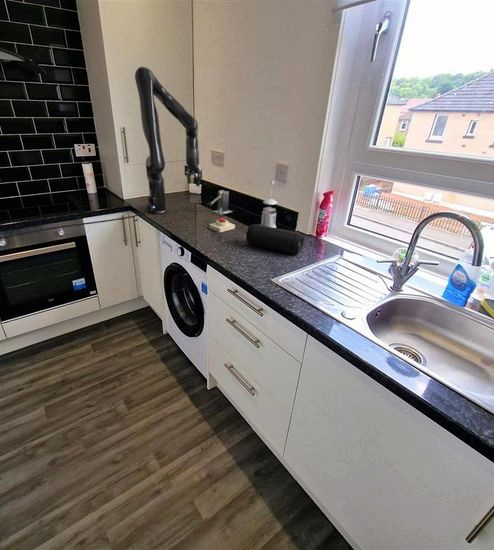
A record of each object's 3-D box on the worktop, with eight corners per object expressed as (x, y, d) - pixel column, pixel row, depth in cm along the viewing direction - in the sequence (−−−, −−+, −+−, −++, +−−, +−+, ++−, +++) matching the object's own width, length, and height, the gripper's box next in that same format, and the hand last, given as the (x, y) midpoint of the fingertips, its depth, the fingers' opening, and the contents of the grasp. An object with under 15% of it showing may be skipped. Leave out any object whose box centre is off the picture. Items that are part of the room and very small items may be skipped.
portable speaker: (302, 251, 144) (305, 230, 140) (296, 258, 137) (299, 237, 132) (252, 239, 155) (254, 220, 150) (244, 246, 147) (245, 226, 142)
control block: (219, 232, 163) (219, 225, 161) (209, 228, 168) (209, 221, 167) (234, 228, 169) (235, 221, 167) (224, 224, 175) (224, 217, 173)
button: (221, 223, 165) (222, 220, 164) (217, 221, 167) (217, 218, 166) (226, 222, 167) (227, 219, 166) (222, 220, 169) (222, 217, 168)
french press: (277, 224, 178) (282, 180, 166) (274, 230, 168) (280, 184, 156) (260, 222, 180) (264, 178, 168) (257, 228, 170) (261, 182, 158)
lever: (210, 209, 184) (208, 204, 181) (206, 208, 186) (205, 203, 183) (227, 195, 189) (226, 191, 186) (224, 194, 191) (222, 190, 188)
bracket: (221, 216, 188) (221, 193, 182) (212, 213, 193) (213, 190, 187) (232, 213, 194) (234, 191, 188) (224, 210, 199) (225, 188, 193)
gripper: (180, 155, 180) (181, 183, 188) (194, 158, 171) (195, 187, 179) (190, 154, 185) (191, 181, 192) (205, 157, 175) (205, 185, 183)
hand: (193, 184), depth 186 cm, fingers open, 8 cm apart
